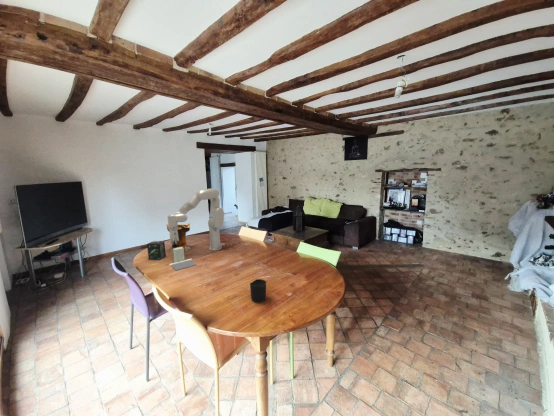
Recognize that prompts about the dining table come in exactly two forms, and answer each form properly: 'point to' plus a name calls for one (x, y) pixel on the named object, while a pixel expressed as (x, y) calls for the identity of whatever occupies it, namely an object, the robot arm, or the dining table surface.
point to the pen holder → (258, 290)
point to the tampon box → (156, 250)
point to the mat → (183, 265)
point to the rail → (180, 262)
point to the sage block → (178, 254)
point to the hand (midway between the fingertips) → (174, 248)
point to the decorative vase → (182, 235)
